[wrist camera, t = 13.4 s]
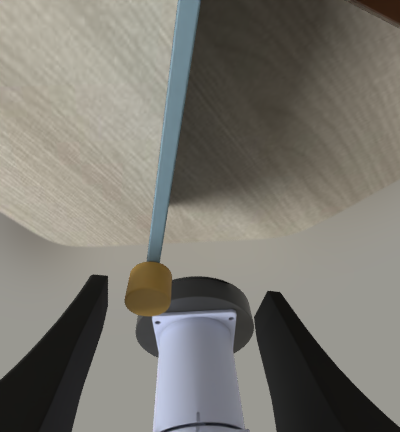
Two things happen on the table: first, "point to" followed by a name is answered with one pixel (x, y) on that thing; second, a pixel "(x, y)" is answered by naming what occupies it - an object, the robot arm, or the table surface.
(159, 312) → the blue cabinet door
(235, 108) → the table surface
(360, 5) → the cabinet
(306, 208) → the table surface
